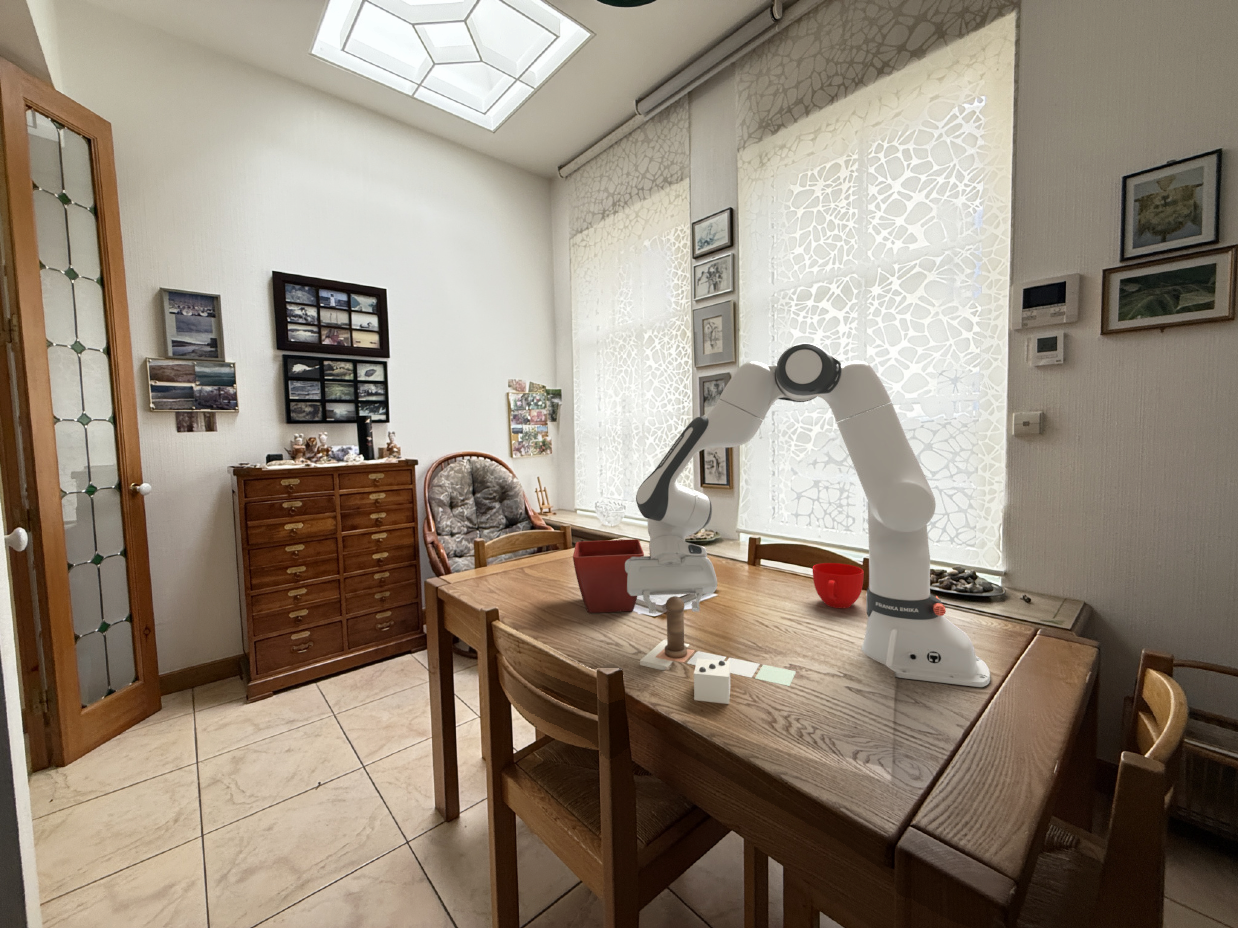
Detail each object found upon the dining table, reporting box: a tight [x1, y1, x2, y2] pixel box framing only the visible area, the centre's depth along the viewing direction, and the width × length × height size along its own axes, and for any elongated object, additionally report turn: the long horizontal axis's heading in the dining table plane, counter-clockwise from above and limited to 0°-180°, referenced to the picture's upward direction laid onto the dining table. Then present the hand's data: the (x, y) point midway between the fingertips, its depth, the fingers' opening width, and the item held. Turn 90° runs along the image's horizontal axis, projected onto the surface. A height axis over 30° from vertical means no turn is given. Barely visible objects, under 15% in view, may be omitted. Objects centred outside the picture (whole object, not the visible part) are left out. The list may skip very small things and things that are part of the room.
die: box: [693, 658, 731, 705], centre depth 89 cm, size 6×6×7 cm
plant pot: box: [572, 538, 645, 614], centre depth 141 cm, size 19×19×17 cm
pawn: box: [665, 595, 688, 658], centre depth 105 cm, size 5×5×12 cm
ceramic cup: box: [812, 562, 865, 609], centre depth 135 cm, size 13×17×10 cm
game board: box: [639, 638, 797, 687], centre depth 101 cm, size 32×12×1 cm, turn 60°
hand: (674, 611), depth 107 cm, fingers open, 8 cm apart
